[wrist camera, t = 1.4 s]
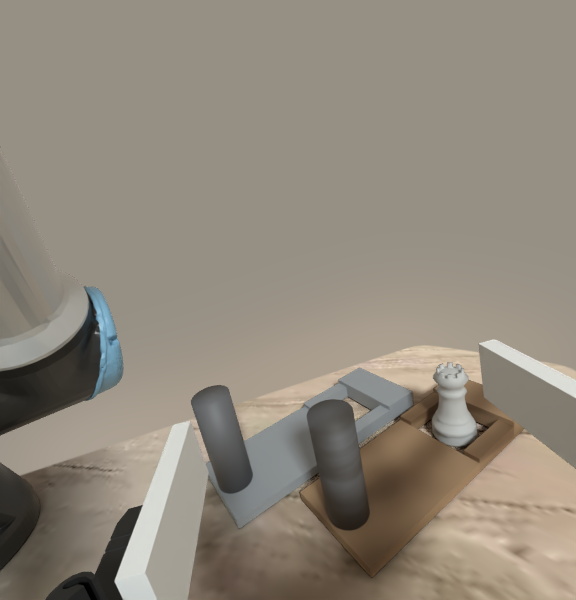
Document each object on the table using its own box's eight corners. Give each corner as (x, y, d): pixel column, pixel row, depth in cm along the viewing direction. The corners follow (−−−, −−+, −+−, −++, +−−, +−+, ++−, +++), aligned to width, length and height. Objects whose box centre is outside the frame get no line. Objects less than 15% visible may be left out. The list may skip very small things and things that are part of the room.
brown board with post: (302, 500, 33) (278, 401, 30) (454, 388, 44) (449, 307, 41) (371, 577, 26) (350, 458, 22) (533, 419, 37) (535, 324, 33)
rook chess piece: (448, 454, 35) (443, 386, 33) (423, 427, 39) (417, 364, 37) (488, 441, 35) (486, 373, 33) (459, 416, 40) (455, 353, 37)
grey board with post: (205, 472, 39) (176, 387, 36) (361, 379, 50) (350, 308, 47) (239, 528, 32) (206, 428, 28) (413, 405, 43) (404, 323, 39)
